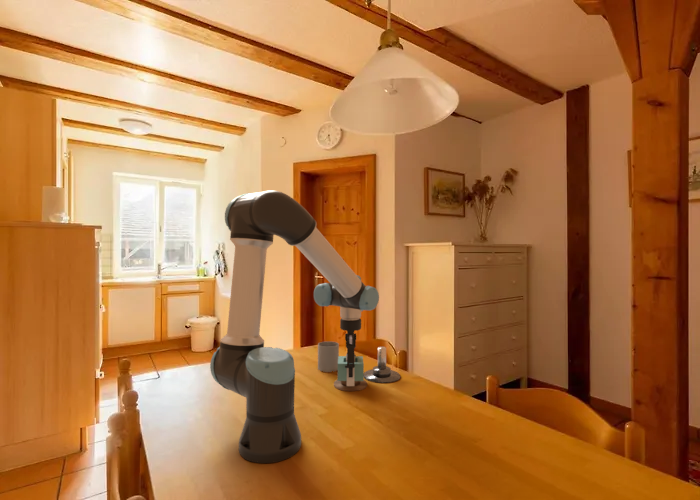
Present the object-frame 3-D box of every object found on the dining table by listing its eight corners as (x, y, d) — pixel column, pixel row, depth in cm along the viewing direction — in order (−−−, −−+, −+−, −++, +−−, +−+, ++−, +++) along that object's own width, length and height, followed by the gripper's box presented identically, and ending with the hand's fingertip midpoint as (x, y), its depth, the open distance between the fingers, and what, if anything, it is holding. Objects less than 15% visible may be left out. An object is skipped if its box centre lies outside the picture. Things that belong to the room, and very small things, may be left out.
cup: (316, 366, 158) (316, 342, 157) (335, 364, 160) (335, 340, 160) (320, 372, 150) (320, 347, 149) (340, 370, 152) (340, 345, 152)
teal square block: (363, 381, 132) (363, 363, 132) (337, 380, 132) (337, 363, 132) (362, 372, 141) (362, 356, 141) (338, 372, 141) (338, 356, 141)
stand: (367, 391, 131) (368, 359, 131) (333, 391, 131) (333, 359, 131) (366, 379, 143) (366, 349, 143) (334, 378, 143) (334, 349, 143)
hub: (402, 383, 139) (402, 352, 139) (364, 382, 139) (364, 352, 139) (397, 370, 153) (397, 343, 153) (362, 370, 153) (362, 342, 153)
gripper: (362, 324, 126) (361, 392, 126) (360, 312, 147) (360, 370, 148) (339, 324, 126) (339, 392, 126) (341, 312, 147) (340, 370, 148)
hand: (350, 380), depth 137 cm, fingers open, 9 cm apart
